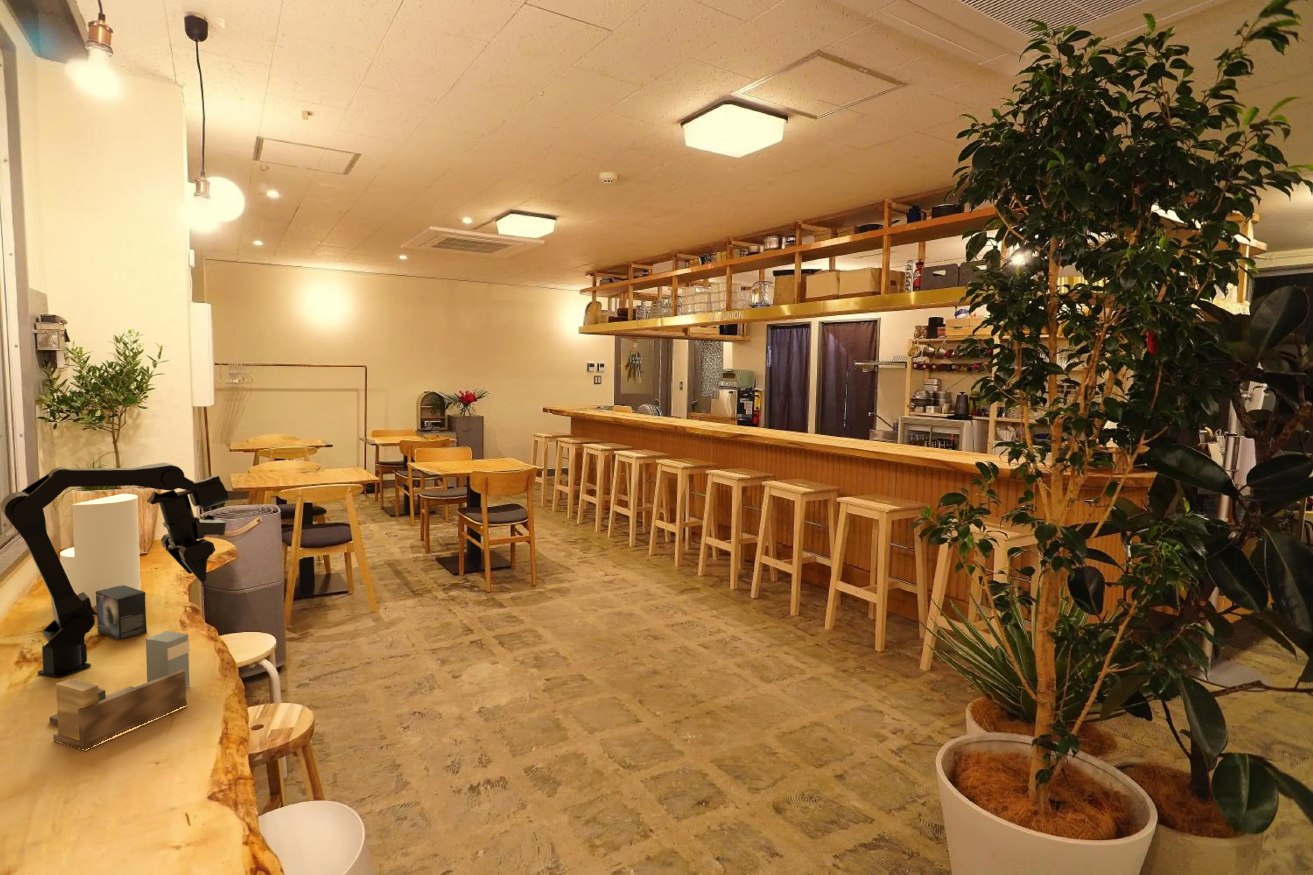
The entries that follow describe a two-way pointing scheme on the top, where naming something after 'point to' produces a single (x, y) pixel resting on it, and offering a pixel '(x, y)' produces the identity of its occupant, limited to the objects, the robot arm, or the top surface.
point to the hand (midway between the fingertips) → (197, 577)
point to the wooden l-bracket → (112, 708)
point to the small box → (121, 612)
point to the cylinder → (104, 545)
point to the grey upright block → (167, 655)
